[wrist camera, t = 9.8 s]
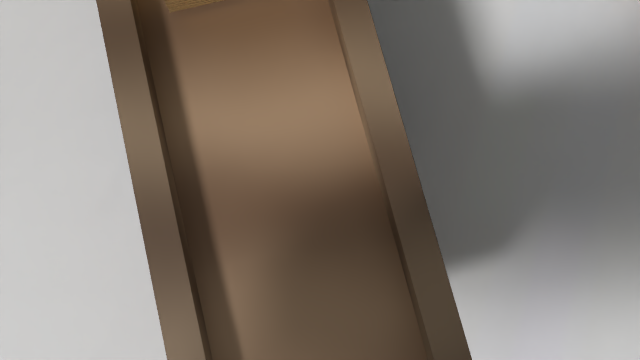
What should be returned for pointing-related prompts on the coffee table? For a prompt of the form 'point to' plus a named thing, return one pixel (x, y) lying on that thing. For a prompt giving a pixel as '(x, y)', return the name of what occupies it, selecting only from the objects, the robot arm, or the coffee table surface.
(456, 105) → the coffee table surface
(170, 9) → the brass rider
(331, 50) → the balance beam
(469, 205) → the coffee table surface
